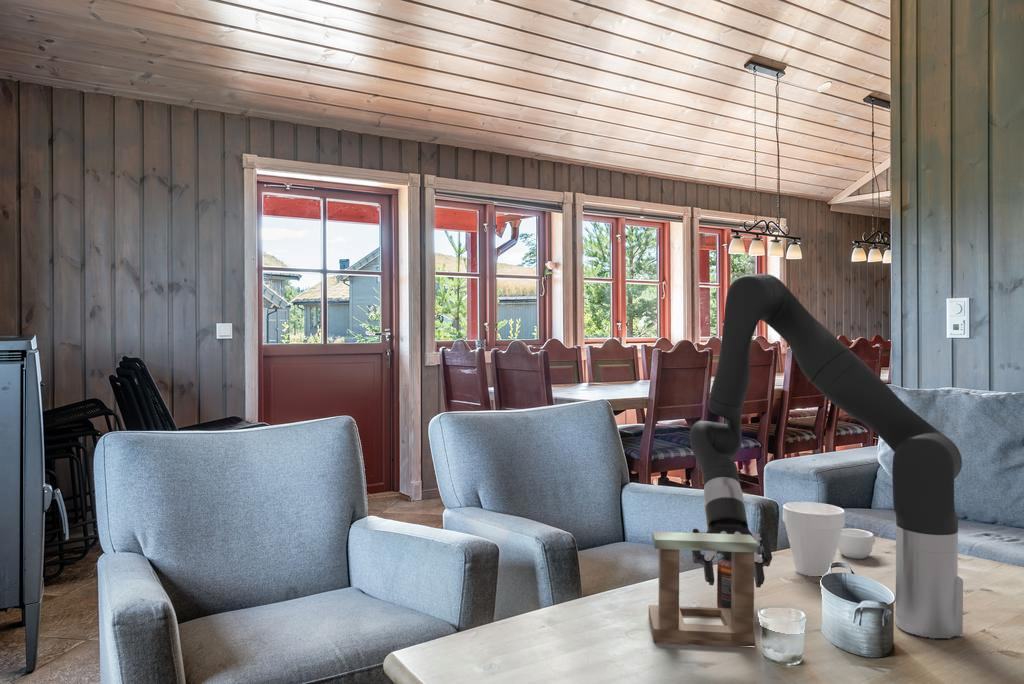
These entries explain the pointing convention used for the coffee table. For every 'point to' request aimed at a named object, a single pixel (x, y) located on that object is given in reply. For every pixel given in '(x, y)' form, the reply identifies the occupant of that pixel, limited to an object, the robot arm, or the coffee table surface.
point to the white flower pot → (813, 535)
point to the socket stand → (702, 621)
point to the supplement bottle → (724, 581)
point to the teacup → (856, 543)
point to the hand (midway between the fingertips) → (735, 584)
